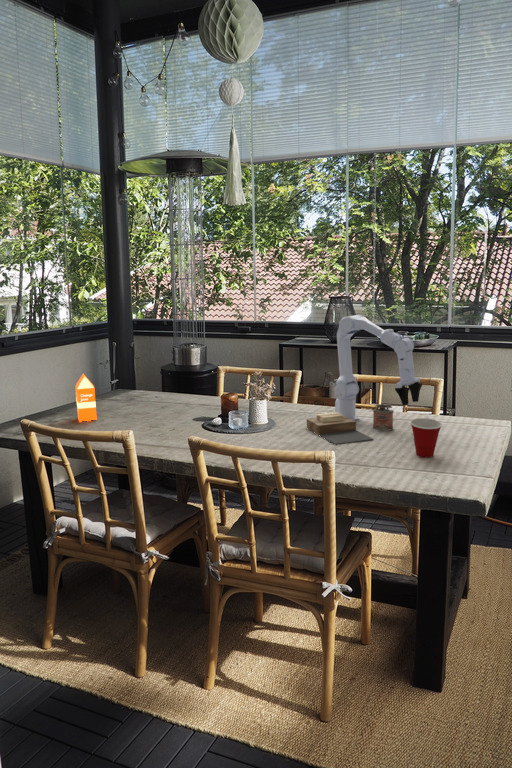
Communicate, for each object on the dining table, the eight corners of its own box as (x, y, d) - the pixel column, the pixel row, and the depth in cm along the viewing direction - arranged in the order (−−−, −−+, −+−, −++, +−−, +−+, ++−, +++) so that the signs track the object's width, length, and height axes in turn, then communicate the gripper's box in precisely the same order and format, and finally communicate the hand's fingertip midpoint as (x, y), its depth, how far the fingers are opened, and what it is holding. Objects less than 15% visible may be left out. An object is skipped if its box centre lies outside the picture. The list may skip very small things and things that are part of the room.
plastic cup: (422, 461, 224) (423, 427, 221) (402, 453, 233) (403, 420, 231) (448, 457, 228) (449, 423, 225) (428, 449, 238) (429, 416, 235)
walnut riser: (306, 428, 270) (306, 418, 269) (342, 424, 275) (342, 414, 274) (319, 435, 259) (318, 425, 258) (356, 431, 264) (356, 421, 263)
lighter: (372, 428, 267) (372, 404, 265) (373, 426, 270) (373, 402, 268) (392, 429, 265) (392, 405, 263) (393, 427, 268) (394, 403, 266)
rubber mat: (319, 435, 259) (319, 434, 259) (356, 431, 264) (356, 430, 264) (334, 444, 246) (334, 443, 246) (373, 440, 251) (373, 438, 251)
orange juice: (95, 416, 300) (92, 372, 296) (97, 420, 291) (94, 375, 287) (77, 417, 297) (74, 373, 293) (78, 422, 289) (75, 376, 285)
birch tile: (316, 419, 268) (316, 414, 268) (336, 416, 271) (336, 412, 271) (322, 422, 263) (322, 417, 262) (343, 420, 266) (343, 415, 265)
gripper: (405, 371, 253) (409, 406, 254) (425, 366, 263) (428, 399, 265) (389, 372, 258) (393, 406, 259) (409, 367, 268) (413, 400, 270)
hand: (410, 403), depth 262 cm, fingers open, 7 cm apart
